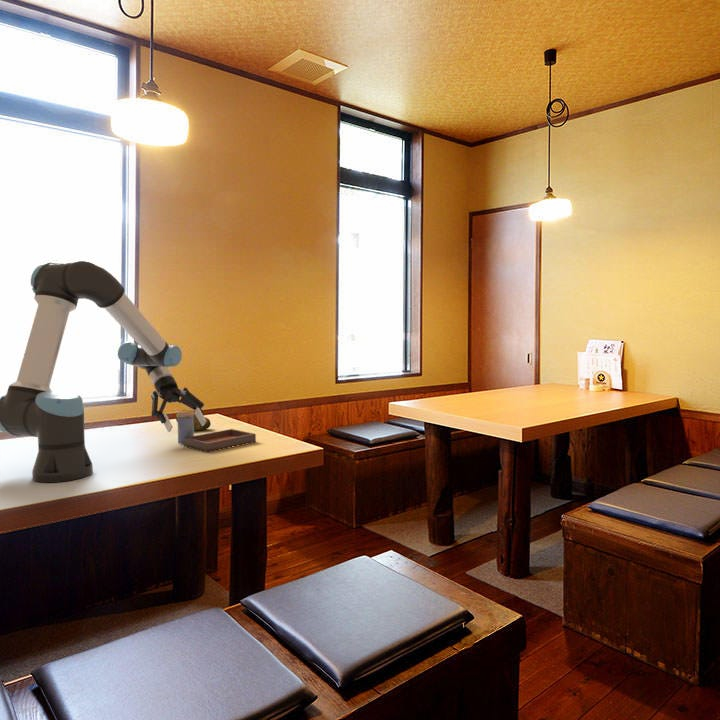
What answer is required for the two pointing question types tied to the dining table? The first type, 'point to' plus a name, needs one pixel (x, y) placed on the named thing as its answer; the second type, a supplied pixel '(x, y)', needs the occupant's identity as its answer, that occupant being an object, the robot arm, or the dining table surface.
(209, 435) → the tray
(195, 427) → the potato
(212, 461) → the dining table surface
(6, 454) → the dining table surface
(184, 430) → the shaker
